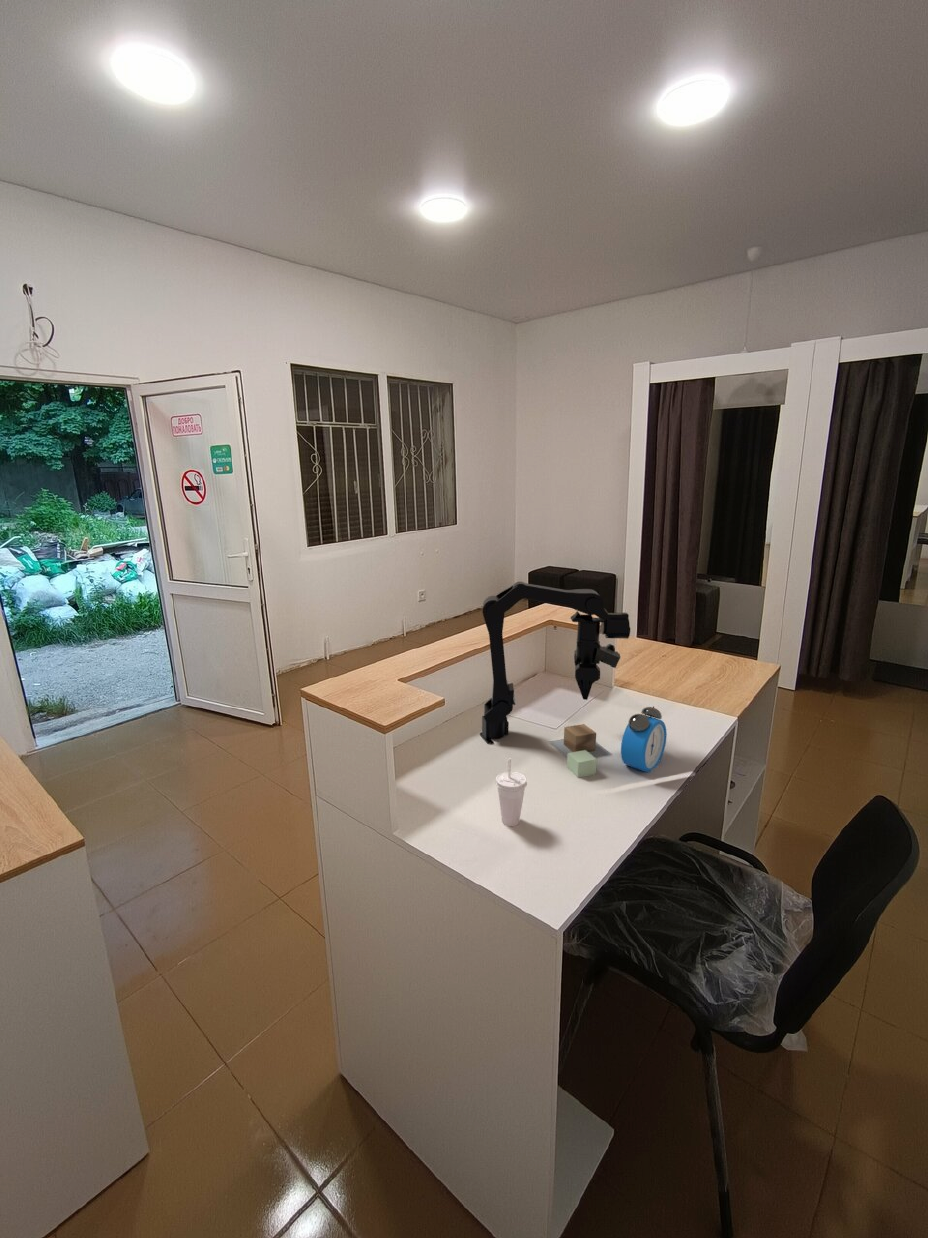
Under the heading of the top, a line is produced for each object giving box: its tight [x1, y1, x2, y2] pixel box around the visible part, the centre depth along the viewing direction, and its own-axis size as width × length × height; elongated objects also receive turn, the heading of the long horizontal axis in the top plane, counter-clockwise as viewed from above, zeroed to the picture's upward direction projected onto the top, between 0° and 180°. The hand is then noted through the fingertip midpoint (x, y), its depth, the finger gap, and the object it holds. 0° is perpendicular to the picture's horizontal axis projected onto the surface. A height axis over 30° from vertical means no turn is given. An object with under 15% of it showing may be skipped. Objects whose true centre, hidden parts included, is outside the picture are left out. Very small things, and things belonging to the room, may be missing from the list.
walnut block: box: [563, 723, 597, 752], centre depth 148 cm, size 6×6×5 cm
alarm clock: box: [620, 706, 668, 773], centre depth 138 cm, size 13×6×15 cm, turn 137°
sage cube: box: [566, 750, 598, 778], centre depth 136 cm, size 5×5×5 cm
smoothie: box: [495, 757, 528, 827], centre depth 116 cm, size 6×6×14 cm
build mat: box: [548, 738, 612, 759], centre depth 149 cm, size 12×12×1 cm
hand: (584, 693), depth 152 cm, fingers open, 9 cm apart
